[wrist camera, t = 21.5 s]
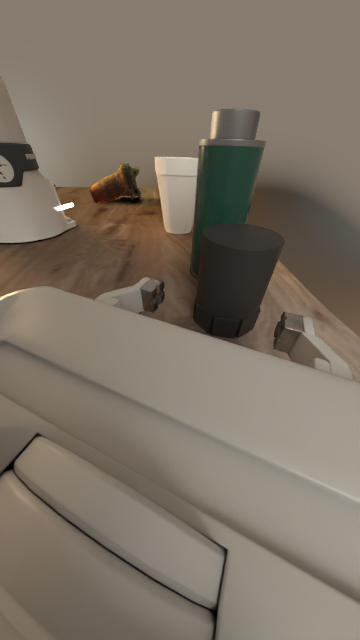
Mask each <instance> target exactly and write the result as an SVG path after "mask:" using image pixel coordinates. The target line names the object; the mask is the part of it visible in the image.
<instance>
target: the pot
mask: <svg viewBox="0 0 360 640" xmlns="http://www.w3.org/2000/svg"><path fill="white" fill-rule="evenodd" d="M120 165H121V166H120V168H119V169H118V171H117V172H116V173H115V174H112V175H109V176H107V177H105V178H103V179H101V180H100V181H98V182H97V183H95V184H94V185H93V186H92V187H90V192H91V194H92V197H93V198H94V201H95V202H96V203H97V202H98V201H101V202H102V201H104V200H106V199H107V200H116V198H118V199H120V200H131V201H135V202H136V201H138V200H139V199H141V196H140V195H141V194H142V193H141V192H140V191H139V190H138V188H137V185H136V178H137V176H138V175H139V173H140V168H138V167H137V168H131V167H130V166H129V164H128V163H127V164H123V163H122V164H120ZM141 200H142V199H141Z"/></svg>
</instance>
